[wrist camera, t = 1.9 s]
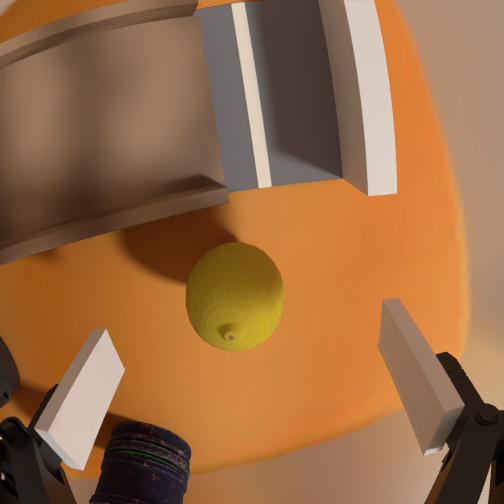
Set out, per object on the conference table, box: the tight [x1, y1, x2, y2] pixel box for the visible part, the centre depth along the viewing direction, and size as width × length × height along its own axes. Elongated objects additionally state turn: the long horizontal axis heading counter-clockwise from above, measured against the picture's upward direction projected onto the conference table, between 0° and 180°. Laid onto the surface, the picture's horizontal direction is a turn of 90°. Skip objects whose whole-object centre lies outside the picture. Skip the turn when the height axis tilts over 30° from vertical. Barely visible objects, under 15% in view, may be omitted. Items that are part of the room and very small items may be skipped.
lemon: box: [186, 242, 284, 351], centre depth 18 cm, size 6×6×8 cm
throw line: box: [231, 2, 272, 188], centre depth 17 cm, size 1×12×1 cm, turn 8°
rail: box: [318, 0, 397, 196], centre depth 15 cm, size 2×12×5 cm, turn 8°
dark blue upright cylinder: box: [89, 422, 191, 504], centre depth 24 cm, size 10×10×15 cm
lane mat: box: [193, 0, 343, 193], centre depth 17 cm, size 10×12×1 cm
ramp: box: [0, 0, 229, 265], centre depth 14 cm, size 15×12×8 cm
